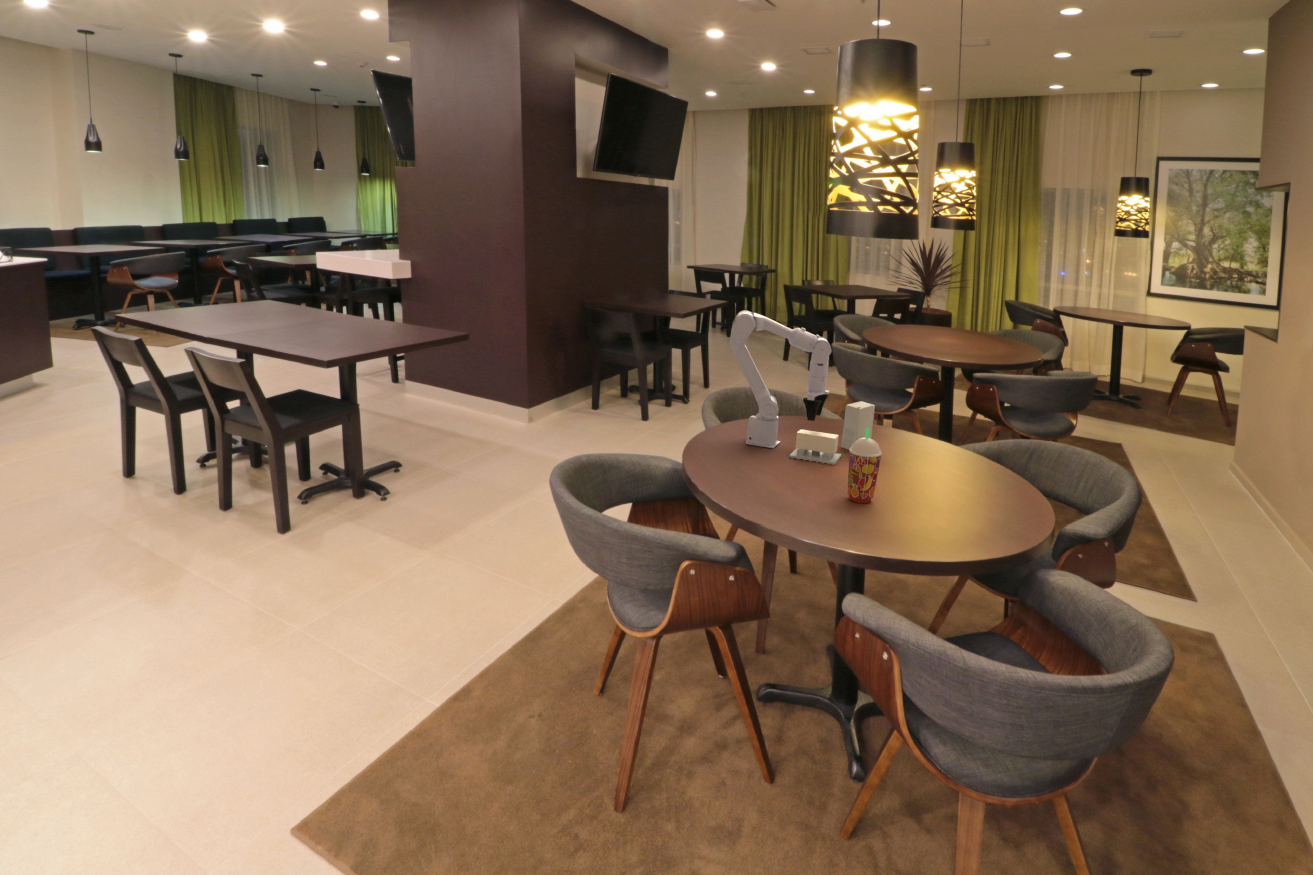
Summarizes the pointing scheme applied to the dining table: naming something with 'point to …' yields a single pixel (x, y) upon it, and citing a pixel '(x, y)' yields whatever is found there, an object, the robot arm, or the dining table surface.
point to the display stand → (815, 456)
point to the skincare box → (857, 422)
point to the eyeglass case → (817, 441)
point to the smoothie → (863, 469)
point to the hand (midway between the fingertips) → (813, 417)
